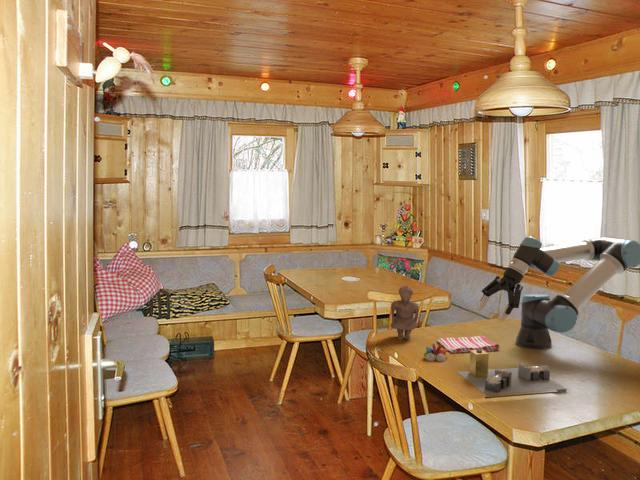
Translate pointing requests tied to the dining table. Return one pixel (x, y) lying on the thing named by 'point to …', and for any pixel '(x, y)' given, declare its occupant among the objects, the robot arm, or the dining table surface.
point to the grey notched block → (498, 381)
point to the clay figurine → (404, 313)
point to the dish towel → (467, 344)
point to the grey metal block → (533, 373)
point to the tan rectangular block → (478, 363)
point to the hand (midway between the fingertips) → (489, 315)
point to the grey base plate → (514, 384)
